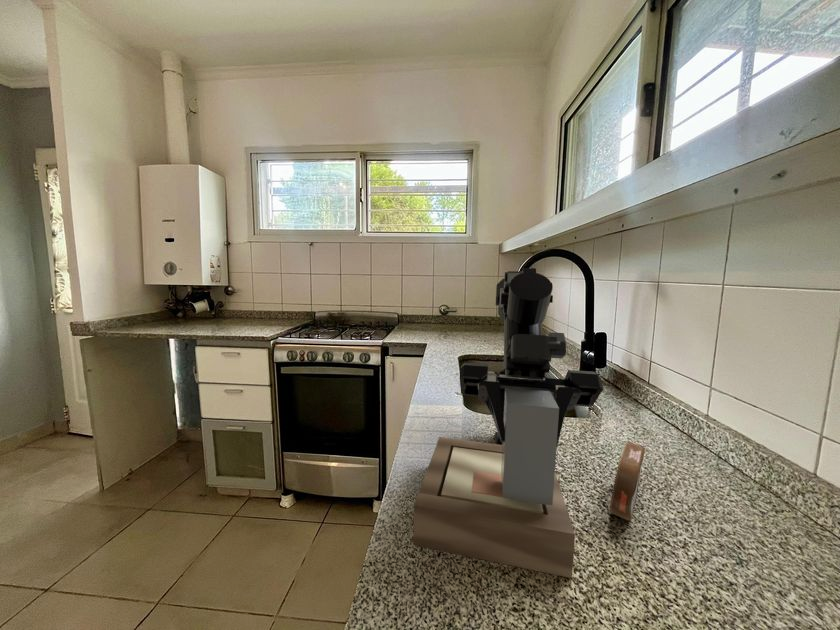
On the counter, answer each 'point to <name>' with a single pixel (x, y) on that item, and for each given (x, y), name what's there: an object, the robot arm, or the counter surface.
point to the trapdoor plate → (480, 480)
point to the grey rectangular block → (529, 445)
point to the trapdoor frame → (491, 522)
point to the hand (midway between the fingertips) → (528, 444)
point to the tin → (627, 481)
